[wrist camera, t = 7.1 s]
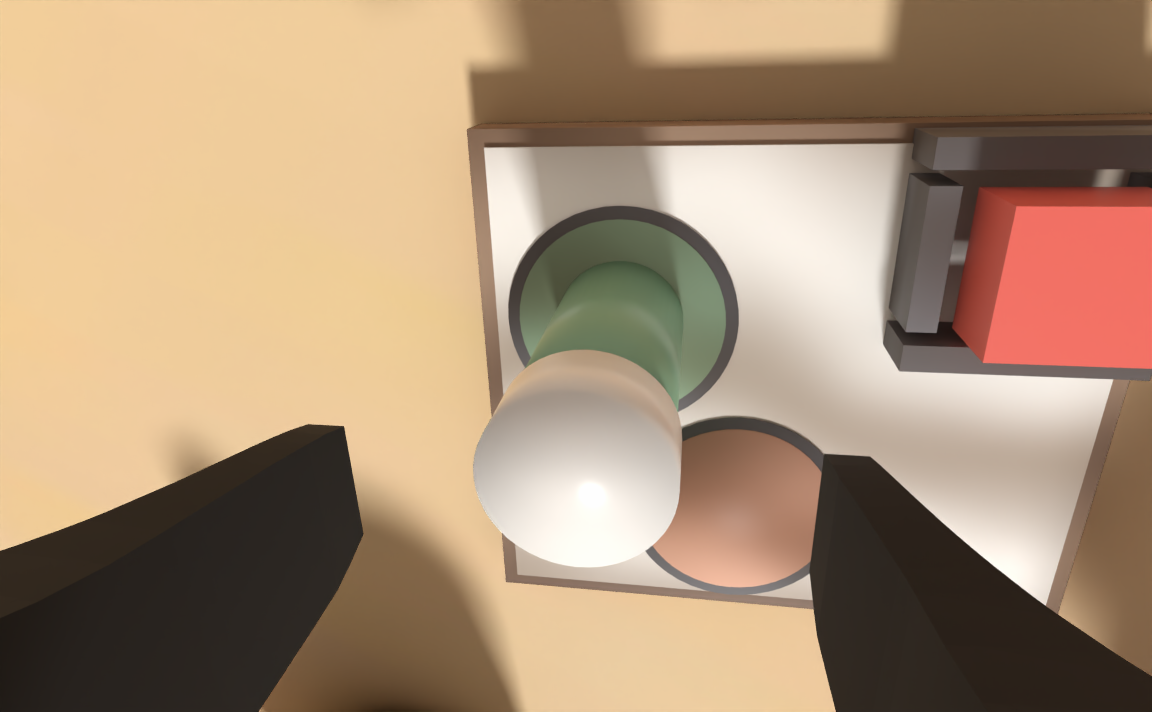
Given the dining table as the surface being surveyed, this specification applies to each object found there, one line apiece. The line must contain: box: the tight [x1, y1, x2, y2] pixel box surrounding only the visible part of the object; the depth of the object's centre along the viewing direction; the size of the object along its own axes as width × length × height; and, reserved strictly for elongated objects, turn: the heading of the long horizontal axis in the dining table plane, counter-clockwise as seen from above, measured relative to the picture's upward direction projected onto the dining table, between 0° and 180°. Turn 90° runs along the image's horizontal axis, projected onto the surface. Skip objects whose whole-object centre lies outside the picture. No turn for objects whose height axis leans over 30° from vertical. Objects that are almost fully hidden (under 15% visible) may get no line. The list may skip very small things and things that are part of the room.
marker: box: [473, 261, 683, 567], centre depth 14 cm, size 3×3×7 cm
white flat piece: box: [467, 114, 1152, 614], centre depth 17 cm, size 13×15×3 cm
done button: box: [952, 187, 1152, 369], centre depth 13 cm, size 3×3×2 cm
